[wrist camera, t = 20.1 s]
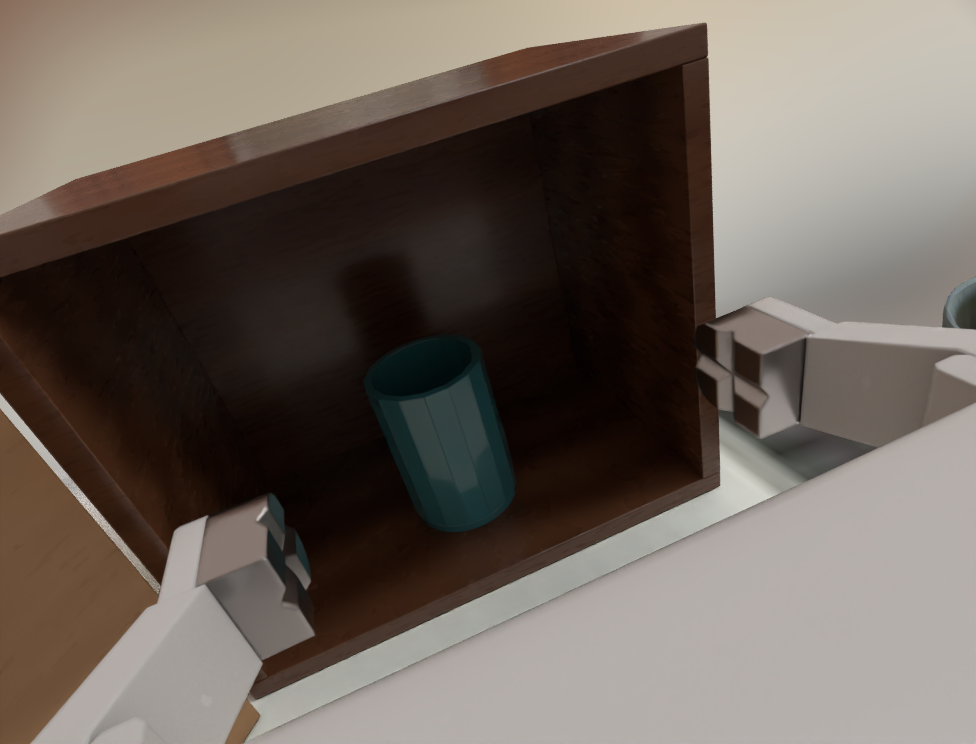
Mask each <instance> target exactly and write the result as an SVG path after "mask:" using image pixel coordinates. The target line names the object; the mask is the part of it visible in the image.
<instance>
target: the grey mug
mask: <svg viewBox="0 0 976 744" xmlns="http://www.w3.org/2000/svg"><path fill="white" fill-rule="evenodd" d="M942 328H958V329H974V330H976V277H973V278H971V279H969V280H967V281H965V282H963V283H961V284H960V285H959V286H957V287H956V288H955V289H954V290H953V291H952V292H951V294H950V295H949V296H948V299H947V301H946V304H945V306H944V311H943V325H942Z"/></svg>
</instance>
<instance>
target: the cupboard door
mask: <svg viewBox="0 0 976 744" xmlns="http://www.w3.org/2000/svg"><path fill="white" fill-rule="evenodd" d="M158 596H159V595H158V594H157V593H156V592H155V591H154V589H153V588H152V587H151V586H150V585H149V583H148V582H147V581H146V580H145V579H144V578H143V576H142V575H141V574H140V573H139V572H138V570H137V569H136V568H135V567H134V566H133V565H132V563H131V562H130V561H129V560H128V559H127V558H126V556H125V555H124V554H123V553H122V552H121V550H120V549H119V548H118V547H117V546H116V545H115V543H114V542H113V541H112V540H111V539H110V538H109V536H108V535H107V534H106V533H105V532H104V530H103V529H102V528H101V527H100V526H99V525H98V523H97V522H96V521H95V520H94V519H93V517H92V516H91V515H90V514H89V513H88V512H87V510H86V509H85V508H84V507H83V506H82V505H81V503H80V502H79V501H78V500H77V499H76V497H75V496H74V495H73V494H72V493H71V492H70V490H69V489H68V488H67V487H66V486H65V484H64V483H63V482H62V481H61V480H60V479H59V477H58V476H57V475H56V474H55V473H54V472H53V470H52V469H51V468H50V467H49V466H48V464H47V463H46V462H45V461H44V460H43V459H42V457H41V456H40V455H39V454H38V453H37V452H36V450H35V449H34V448H33V447H32V446H31V444H30V443H29V442H28V441H27V440H26V439H25V437H24V436H23V435H22V434H21V433H20V431H19V430H18V429H17V428H16V427H15V426H14V424H13V423H12V422H11V421H10V420H9V419H8V417H7V416H6V415H5V414H4V413H3V412H2V410H1V409H0V744H30V743H31V742H32V741H33V740H34V739H35V737H36V736H37V735H38V734H39V733H40V732H41V730H42V729H43V728H44V727H45V726H46V725H47V723H48V722H49V721H50V720H51V719H52V718H53V716H54V715H55V714H56V713H57V712H58V711H59V709H60V708H61V707H62V706H63V705H64V704H65V702H66V701H67V700H68V699H69V698H70V697H71V696H72V694H73V693H74V692H75V691H76V690H77V689H78V687H79V686H80V685H81V684H82V683H83V682H84V680H85V679H86V678H87V677H88V676H89V675H90V673H91V672H92V671H93V670H94V669H95V668H96V666H97V665H98V664H99V663H100V662H101V661H102V659H103V658H104V657H105V656H106V655H107V654H108V652H109V651H110V650H111V649H112V648H113V647H114V645H115V644H116V643H117V642H118V641H119V640H120V638H121V637H122V636H123V635H124V634H125V633H126V631H127V630H128V629H129V628H130V627H131V626H132V624H133V623H134V622H135V621H136V620H137V619H138V617H139V616H140V615H141V614H142V613H143V612H144V610H145V609H146V608H148V607H150V606H152V605H155V604H157V601H158ZM259 717H260V714H259V713H258V712H257V711H256V709H255V708H254V707H253V706H252V705H251V704H250V702H249V701H248V700H247V699H246V700H245V702H244V704H243V706H242V708H241V710H240V712H239V714H238V716H237V719H236V721H235V723H234V725H233V727H232V729H231V731H230V733H229V735H228V737H227V739H226V742H225V744H242V743H243V742H244V740H245V739H246V737H247V736H248V734H249V733H250V731H251V729H252V728H253V726H254V725H255V723H256V722H257V720H258V718H259Z"/></svg>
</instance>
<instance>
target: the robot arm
mask: <svg viewBox="0 0 976 744" xmlns="http://www.w3.org/2000/svg"><path fill="white" fill-rule="evenodd" d="M694 344H695V347H696V348H697V349H698V350H699V351H700V352H701V353H702V354H701V356H700V358H699V360H698V362H697V364H696V366H695V367H696V379H697V383H698V385H699V388H700V390H701V392H702V394H703V395H704V397H705V398H706V399H707V400H708V402H709V403H711V404H712V405H713V406H715V407H716V408H717V409H721V410H726V411H731V412H733V414H734V421H735V422H737V423H738V424H740V425H741V426H742V427H744V428H745V429H747V430H748V431H749V432H751V433H752V434H754V435H755V436H756V437H758V438H759V439H762V438H764V437H767V436H769V435H772V434H774V433H777V432H779V431H781V430H784V429H786V428H789V427H791V426H794V425H796V424H799V423H800V425H802V426H805V427H809V428H812V429H816V430H819V431H823V432H826V433H830V434H833V435H837V436H840V437H844V438H847V439H851V440H854V441H858V442H861V443H865V444H868V445H872V446H875V447H879V448H877V449H875V450H873V451H871V452H869V453H867V454H865V455H862V456H860V457H858V458H856V459H854V460H852V461H849V462H847V463H845V464H843V465H841V466H839V467H836V468H834V469H832V470H830V471H828V472H826V473H823V474H821V475H819V476H817V477H815V478H813V479H810V480H808V481H806V482H804V483H802V484H800V485H797V486H795V487H793V488H791V489H789V490H787V491H784V492H782V493H780V494H778V495H776V496H774V497H771V498H769V499H767V500H765V501H763V502H761V503H758V504H756V505H754V506H752V507H750V508H748V509H745V510H743V511H741V512H739V513H737V514H735V515H733V516H730V517H728V518H726V519H724V520H722V521H720V522H717V523H715V524H713V525H711V526H709V527H707V528H704V529H702V530H700V531H698V532H696V533H694V534H692V535H689V536H687V537H685V538H683V539H681V540H679V541H676V542H674V543H672V544H670V545H668V546H666V547H664V548H661V549H659V550H657V551H655V552H653V553H651V554H649V555H646V556H644V557H642V558H640V559H638V560H636V561H634V562H631V563H629V564H627V565H625V566H623V567H621V568H619V569H616V570H614V571H612V572H610V573H608V574H606V575H604V576H601V577H599V578H597V579H595V580H593V581H591V582H588V583H586V584H584V585H582V586H580V587H578V588H576V589H573V590H571V591H569V592H567V593H565V594H563V595H561V596H558V597H556V598H554V599H552V600H550V601H548V602H546V603H543V604H541V605H539V606H537V607H535V608H533V609H531V610H528V611H526V612H524V613H522V614H520V615H518V616H515V617H513V618H511V619H509V620H507V621H505V622H503V623H500V624H498V625H496V626H494V627H492V628H490V629H487V630H485V631H483V632H481V633H479V634H477V635H475V636H472V637H470V638H468V639H466V640H464V641H462V642H460V643H457V644H455V645H453V646H451V647H449V648H447V649H444V650H442V651H440V652H438V653H436V654H434V655H432V656H429V657H427V658H425V659H423V660H421V661H419V662H416V663H414V664H412V665H410V666H408V667H406V668H404V669H401V670H399V671H397V672H395V673H393V674H391V675H389V676H386V677H384V678H382V679H380V680H378V681H376V682H373V683H371V684H369V685H367V686H365V687H363V688H361V689H358V690H356V691H354V692H352V693H350V694H348V695H345V696H343V697H341V698H339V699H337V700H335V701H333V702H330V703H328V704H326V705H324V706H322V707H320V708H318V709H315V710H313V711H311V712H309V713H307V714H305V715H302V716H300V717H298V718H296V719H294V720H292V721H290V722H287V723H285V724H283V725H281V726H279V727H277V728H274V729H272V730H270V731H268V732H266V733H264V734H262V735H259V736H257V737H255V738H253V739H251V740H249V741H246V742H244V743H242V744H976V330H974V329H958V328H942V327H926V326H910V325H894V324H878V323H877V324H876V323H861V322H845V321H844V322H841V323H839V324H836V323H833V322H831V321H829V320H826V319H824V318H821V317H818V316H817V315H814V314H812V313H809V312H807V311H804V310H802V309H800V308H797V307H795V306H792V305H790V304H788V303H785V302H783V301H780V300H778V299H775V298H762V299H760V300H758V301H756V302H753V303H751V304H749V305H746V306H744V307H742V308H740V309H738V310H736V311H733V312H731V313H729V314H726V315H723V316H721V317H719V318H716V319H714V320H711V321H709V322H706V323H704V324H702V325H699V326H697V328H696V331H695V334H694ZM310 583H311V573H310V566H309V562H308V558H307V554H306V551H305V548H304V546H303V544H302V541H301V539H300V537H299V535H298V534H297V532H296V530H295V529H294V528H292V527H289V526H287V525H285V522H284V509H283V507H282V506H281V504H280V502H279V501H278V499H277V497H276V496H275V495H274V494H272V493H271V492H270V493H267V494H264V495H261V496H259V497H256V498H253V499H251V500H248V501H245V502H243V503H240V504H237V505H234V506H232V507H229V508H226V509H224V510H221V511H218V512H215V513H213V514H211V515H210V516H204V517H202V518H199V519H197V520H194V521H192V522H189V523H187V524H184V525H182V526H179V527H178V528H177V529H176V530H175V531H174V533H173V537H172V541H171V545H170V549H169V554H168V558H167V562H166V567H165V571H164V575H163V579H162V584H161V588H160V592H159V596H158V601H157V604H155V605H152V606H150V607H148V608H146V609H145V610H144V612H143V613H142V614H141V615H140V616H139V617H138V619H137V620H136V621H135V622H134V623H133V624H132V626H131V627H130V628H129V629H128V630H127V631H126V633H125V634H124V635H123V636H122V637H121V638H120V640H119V641H118V642H117V643H116V644H115V645H114V647H113V648H112V649H111V650H110V651H109V652H108V654H107V655H106V656H105V657H104V658H103V659H102V661H101V662H100V663H99V664H98V665H97V666H96V668H95V669H94V670H93V671H92V672H91V673H90V675H89V676H88V677H87V678H86V679H85V680H84V682H83V683H82V684H81V685H80V686H79V687H78V689H77V690H76V691H75V692H74V693H73V694H72V696H71V697H70V698H69V699H68V700H67V701H66V702H65V704H64V705H63V706H62V707H61V708H60V709H59V711H58V712H57V713H56V714H55V715H54V716H53V718H52V719H51V720H50V721H49V722H48V723H47V725H46V726H45V727H44V728H43V729H42V730H41V732H40V733H39V734H38V735H37V736H36V737H35V739H34V740H33V741H32V742H31V743H30V744H225V742H226V739H227V737H228V735H229V733H230V731H231V729H232V727H233V725H234V723H235V721H236V719H237V716H238V714H239V712H240V710H241V708H242V706H243V704H244V702H245V700H246V698H247V696H248V693H249V691H250V689H251V687H252V685H253V683H254V681H255V679H256V677H257V675H258V673H259V670H260V668H261V666H262V664H263V663H262V660H264V659H266V658H268V657H271V656H273V655H275V654H277V653H279V652H281V651H283V650H285V649H287V648H290V647H292V646H294V645H296V644H298V643H300V642H302V641H304V640H307V639H309V638H311V637H313V636H315V628H314V613H313V602H312V600H311V598H310V597H309V595H308V593H307V591H306V589H307V588H308V586H309V584H310Z"/></svg>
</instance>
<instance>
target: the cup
mask: <svg viewBox="0 0 976 744" xmlns="http://www.w3.org/2000/svg"><path fill="white" fill-rule="evenodd" d="M363 384H364V387H365V391H366V394H367V396H368V398H369V401H370V403H371V405H372V408H373V410H374V413H375V415H376V417H377V420H378V422H379V424H380V427H381V429H382V431H383V434H384V436H385V439H386V441H387V443H388V446H389V448H390V450H391V453H392V455H393V457H394V460H395V462H396V465H397V467H398V469H399V472H400V474H401V476H402V479H403V481H404V483H405V486H406V488H407V491H408V493H409V495H410V498H411V500H412V502H413V505H414V507H415V509H416V512H417V513H418V515H419V517H420V518H421V520H422V521H423V522H424V523H425V524H427V525H428V526H430V527H431V528H434V529H436V530H439V531H444V532H463V531H469V530H472V529H476V528H478V527H481V526H483V525H485V524H487V523H489V522H491V521H492V520H494V519H495V518H497V517H498V516H499V515H500V514H502V513H503V512H504V511H505V510H506V508H507V507H508V506H509V505H510V503H511V501H512V500H513V498H514V495H515V492H516V487H517V481H516V476H515V469H514V466H513V462H512V459H511V455H510V451H509V448H508V444H507V441H506V437H505V434H504V430H503V426H502V423H501V419H500V416H499V412H498V409H497V405H496V402H495V398H494V394H493V391H492V387H491V384H490V380H489V377H488V373H487V369H486V366H485V362H484V359H483V355H482V352H481V349H480V347H479V346H478V345H477V344H476V342H475V341H474V340H473V339H470V338H467V337H464V336H461V335H448V334H441V335H435V336H429V337H424V338H420V339H417V340H414V341H411V342H408V343H406V344H403V345H400V346H398V347H397V348H395V349H393V350H392V351H390V352H388V353H387V354H385V355H383V356H382V357H380V358H379V359H378V360H377V361H376V362H375V363H374V364H373V365H372V366H371V367H370V368H369V369H368V371H367V374H366V376H365V378H364V381H363Z"/></svg>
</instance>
